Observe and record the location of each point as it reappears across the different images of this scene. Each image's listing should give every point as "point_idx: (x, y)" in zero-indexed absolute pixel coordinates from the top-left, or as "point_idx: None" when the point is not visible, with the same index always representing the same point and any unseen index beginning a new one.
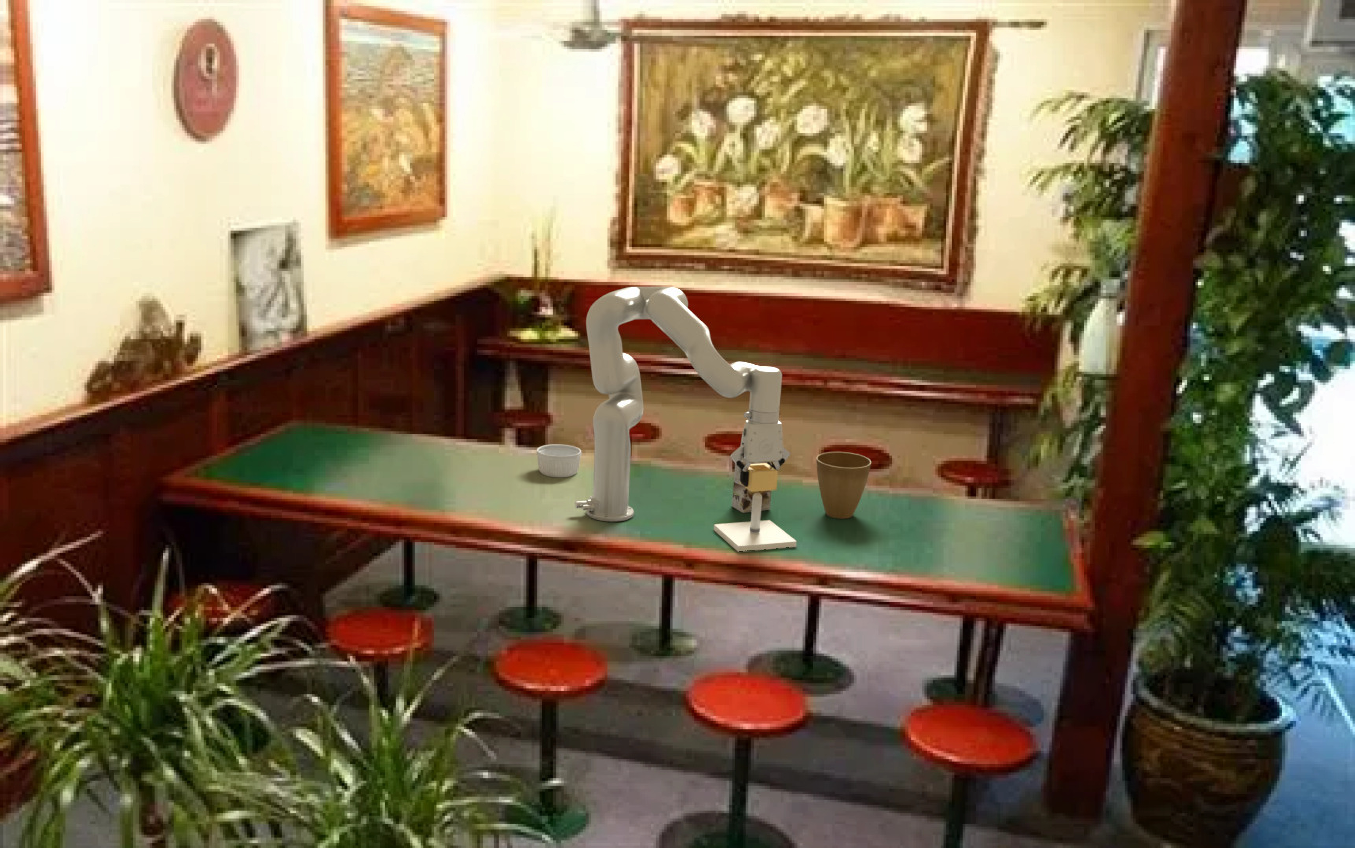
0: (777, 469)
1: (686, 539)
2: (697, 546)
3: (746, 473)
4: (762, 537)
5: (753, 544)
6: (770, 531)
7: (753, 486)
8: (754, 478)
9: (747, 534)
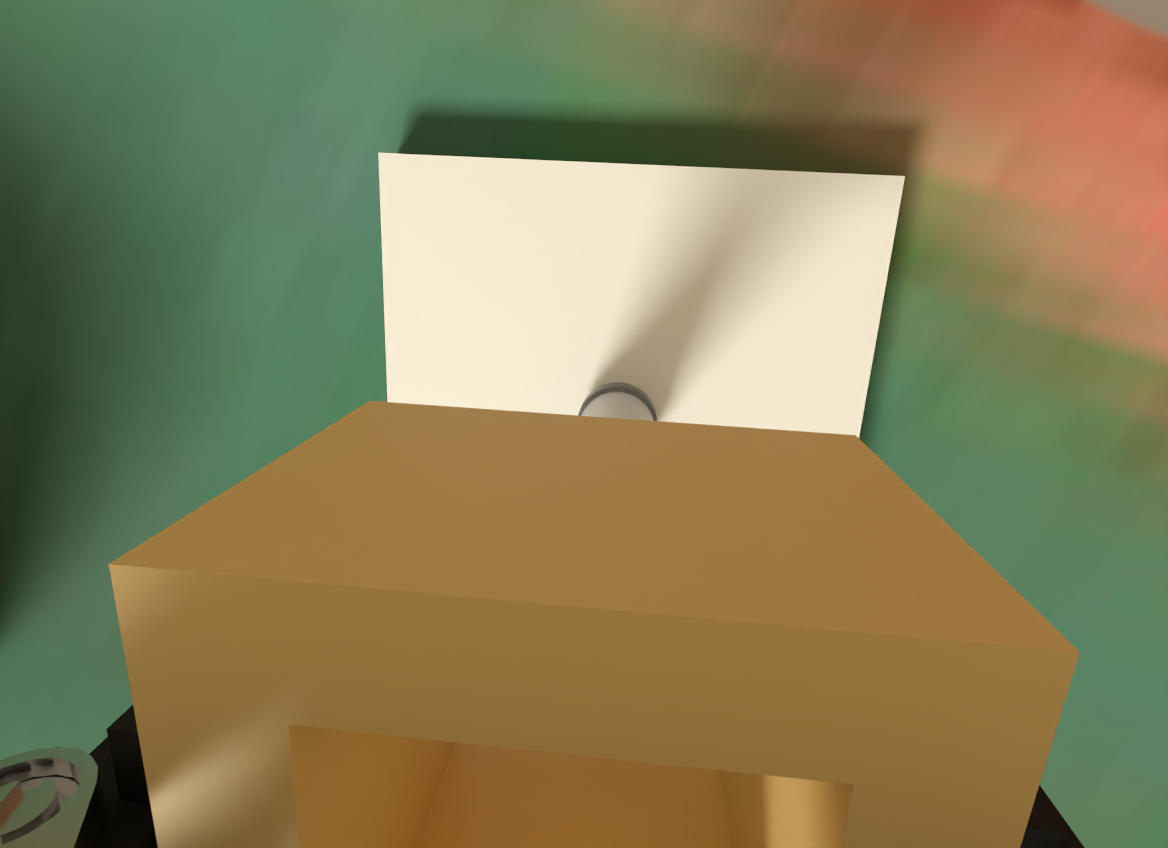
0: (75, 755)
1: (1106, 519)
2: (1118, 374)
3: (1033, 805)
4: (609, 306)
5: (759, 182)
6: (487, 407)
7: (844, 463)
8: (900, 539)
9: (690, 399)
